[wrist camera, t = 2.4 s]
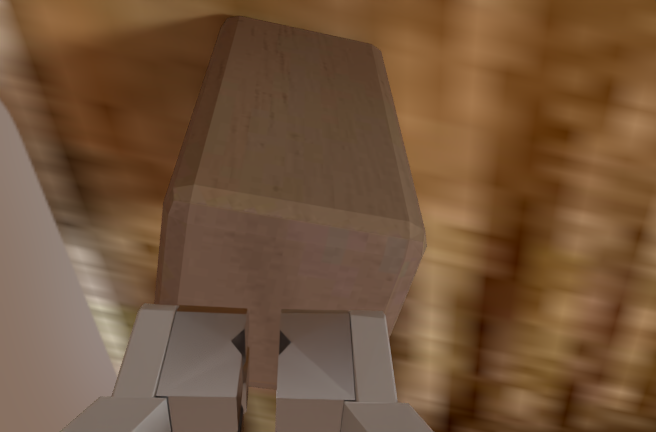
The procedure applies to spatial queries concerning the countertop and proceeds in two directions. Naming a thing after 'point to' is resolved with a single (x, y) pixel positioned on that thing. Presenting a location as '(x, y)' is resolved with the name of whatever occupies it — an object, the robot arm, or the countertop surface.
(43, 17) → the countertop surface
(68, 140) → the countertop surface
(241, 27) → the wooden block
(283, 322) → the robot arm
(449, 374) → the countertop surface
